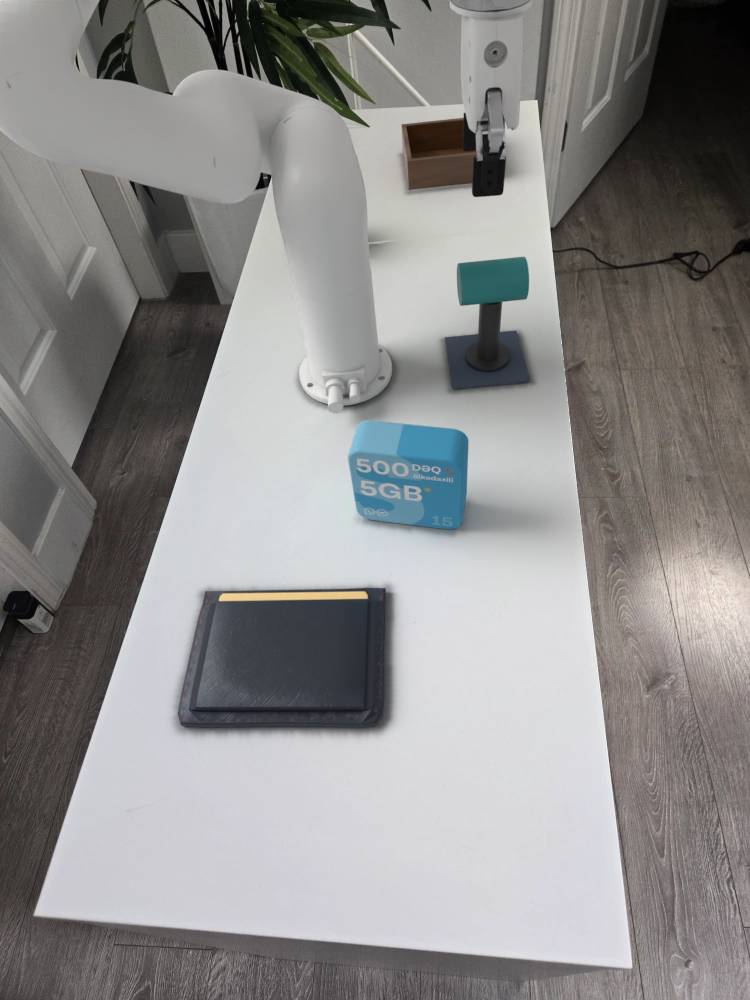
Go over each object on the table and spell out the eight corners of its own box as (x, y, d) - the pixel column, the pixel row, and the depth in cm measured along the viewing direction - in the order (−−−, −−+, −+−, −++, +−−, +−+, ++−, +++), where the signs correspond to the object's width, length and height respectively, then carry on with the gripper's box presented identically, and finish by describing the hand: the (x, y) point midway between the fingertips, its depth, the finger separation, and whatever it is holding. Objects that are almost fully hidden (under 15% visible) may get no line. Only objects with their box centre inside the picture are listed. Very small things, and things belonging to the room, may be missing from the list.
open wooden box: (486, 184, 124) (487, 152, 119) (408, 192, 124) (407, 161, 120) (475, 146, 132) (476, 116, 128) (402, 154, 132) (401, 124, 128)
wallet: (169, 719, 67) (202, 580, 76) (175, 726, 68) (207, 589, 77) (381, 726, 65) (389, 582, 74) (382, 733, 66) (390, 591, 75)
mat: (529, 382, 93) (529, 379, 92) (453, 389, 93) (453, 386, 93) (516, 333, 99) (516, 330, 98) (444, 340, 99) (444, 337, 99)
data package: (357, 519, 82) (345, 449, 72) (365, 488, 84) (355, 417, 75) (461, 531, 79) (463, 462, 70) (466, 500, 82) (469, 428, 72)
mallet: (521, 369, 94) (531, 275, 82) (460, 375, 94) (462, 281, 82) (513, 339, 97) (522, 245, 86) (455, 345, 98) (456, 252, 86)
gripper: (550, 16, 58) (529, 211, 72) (519, -50, 69) (505, 131, 82) (459, 24, 58) (454, 217, 72) (442, -43, 69) (441, 136, 82)
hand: (481, 171), depth 77 cm, fingers open, 9 cm apart
